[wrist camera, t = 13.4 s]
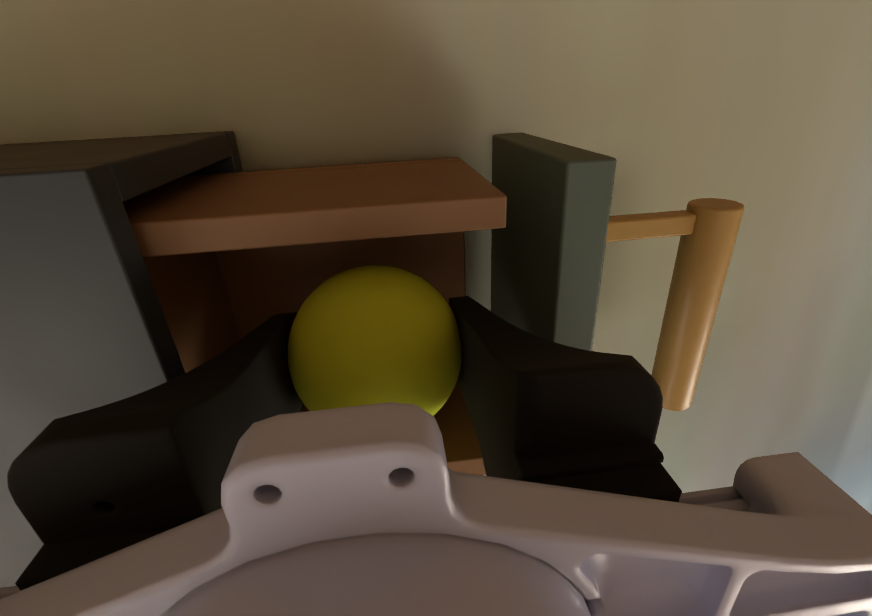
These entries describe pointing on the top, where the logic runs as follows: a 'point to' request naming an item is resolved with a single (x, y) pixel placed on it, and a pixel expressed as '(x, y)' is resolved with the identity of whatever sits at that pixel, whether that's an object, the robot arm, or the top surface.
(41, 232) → the cabinet
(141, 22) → the top surface
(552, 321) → the drawer
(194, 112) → the top surface
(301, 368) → the ball
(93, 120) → the top surface
